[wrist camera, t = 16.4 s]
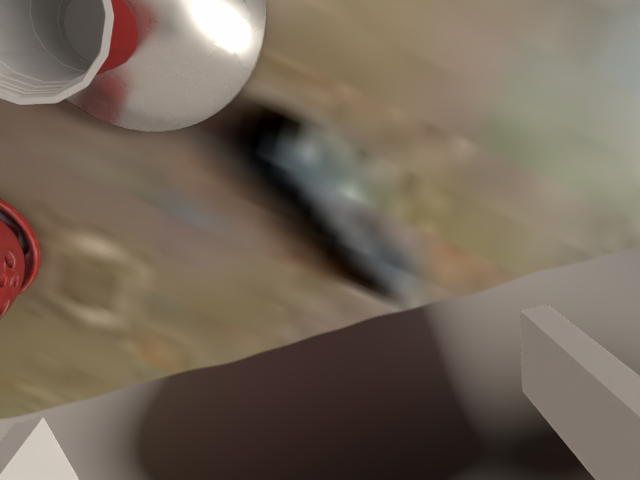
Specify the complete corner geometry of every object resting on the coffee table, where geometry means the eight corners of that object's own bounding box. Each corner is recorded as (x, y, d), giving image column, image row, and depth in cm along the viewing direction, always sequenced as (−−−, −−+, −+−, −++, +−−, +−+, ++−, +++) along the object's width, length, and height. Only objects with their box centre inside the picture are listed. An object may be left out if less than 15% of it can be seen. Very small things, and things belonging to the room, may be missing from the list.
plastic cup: (7, 56, 32) (-145, 32, 20) (54, -83, 29) (-89, -197, 18) (138, 128, 34) (68, 142, 23) (193, 7, 32) (144, -43, 20)
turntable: (230, -173, 30) (227, -191, 28) (289, 105, 37) (289, 105, 35) (-36, -120, 29) (-58, -135, 27) (74, 150, 36) (63, 153, 34)
